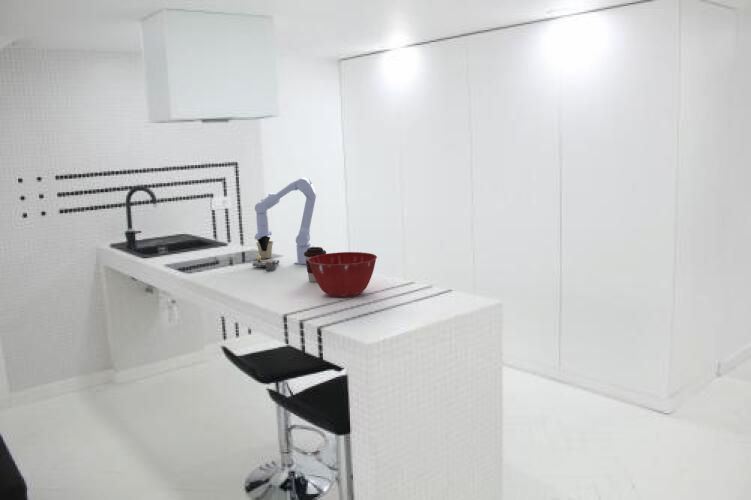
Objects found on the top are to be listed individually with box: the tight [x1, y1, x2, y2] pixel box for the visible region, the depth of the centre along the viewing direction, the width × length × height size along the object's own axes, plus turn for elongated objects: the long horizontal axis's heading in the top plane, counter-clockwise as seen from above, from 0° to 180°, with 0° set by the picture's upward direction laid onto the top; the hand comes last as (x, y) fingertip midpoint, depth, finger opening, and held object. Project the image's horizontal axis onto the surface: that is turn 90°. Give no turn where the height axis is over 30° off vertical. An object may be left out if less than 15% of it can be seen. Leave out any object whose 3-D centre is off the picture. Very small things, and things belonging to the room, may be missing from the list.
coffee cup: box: [304, 246, 327, 283], centre depth 304 cm, size 10×10×15 cm
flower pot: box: [255, 240, 274, 260], centre depth 366 cm, size 9×9×9 cm
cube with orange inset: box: [265, 261, 277, 272], centre depth 333 cm, size 4×4×4 cm
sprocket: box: [251, 254, 280, 268], centre depth 342 cm, size 14×14×4 cm
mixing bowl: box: [308, 251, 378, 298], centre depth 277 cm, size 28×28×15 cm
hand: (264, 250), depth 348 cm, fingers closed
